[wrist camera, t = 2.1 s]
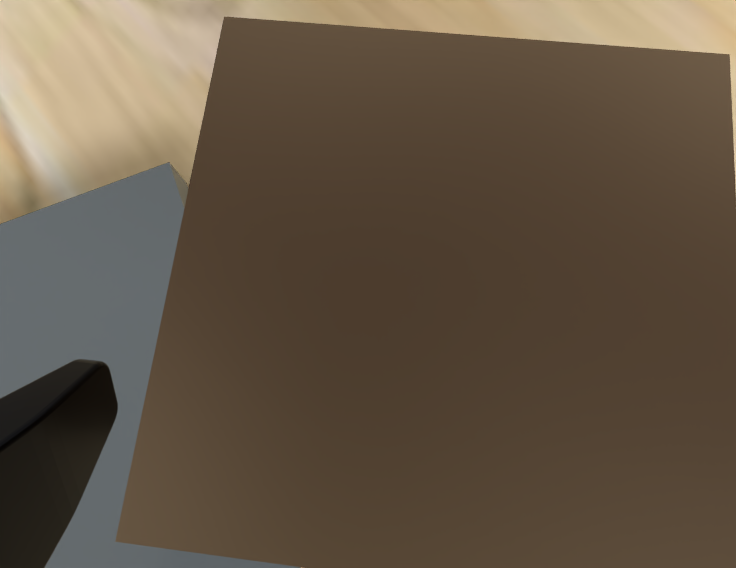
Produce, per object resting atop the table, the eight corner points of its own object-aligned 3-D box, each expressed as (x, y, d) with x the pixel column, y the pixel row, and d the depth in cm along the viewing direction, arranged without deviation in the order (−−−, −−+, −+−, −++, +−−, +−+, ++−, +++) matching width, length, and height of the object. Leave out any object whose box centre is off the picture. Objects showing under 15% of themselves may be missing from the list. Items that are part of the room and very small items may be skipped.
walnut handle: (466, 468, 16) (756, 629, 3) (327, 451, 16) (115, 541, 4) (476, 330, 17) (730, 53, 4) (345, 316, 17) (223, 16, 5)
